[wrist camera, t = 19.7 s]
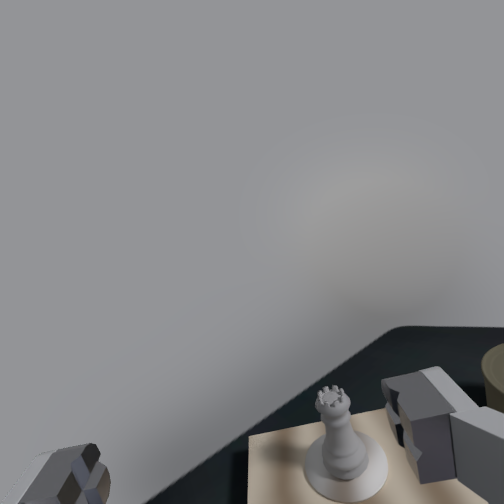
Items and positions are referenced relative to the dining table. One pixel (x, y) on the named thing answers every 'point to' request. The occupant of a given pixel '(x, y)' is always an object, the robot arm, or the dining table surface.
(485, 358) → the can
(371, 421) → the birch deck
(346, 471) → the rook chess piece
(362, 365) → the dining table surface
